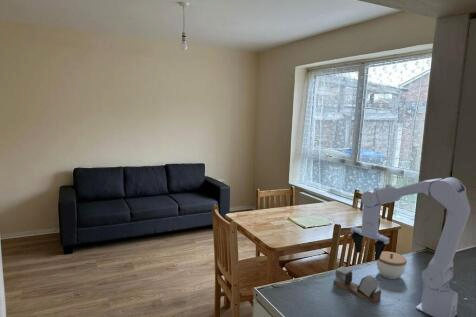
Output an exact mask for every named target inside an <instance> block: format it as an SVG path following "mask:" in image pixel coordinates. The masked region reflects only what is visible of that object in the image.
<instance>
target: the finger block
mask: <svg viewBox="0 0 476 317" xmlns="http://www.w3.org/2000/svg"><path fill="white" fill-rule="evenodd" d="M380 284H381V282H380V281H378V280H377V279H376V278H375V276H372V275H371V274H369V275H366V276H364V277H363V278H361V281H360V282H359V284H358V285H359V290H361V291H362V292H363V293H364V294H365V295H367V296H368V297H370V296H371V295H373V294H374V293H375V292H377V291H378V290H377V289H378V287H379V285H380Z"/></svg>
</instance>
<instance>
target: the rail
mask: <svg viewBox="0 0 476 317" xmlns="http://www.w3.org/2000/svg"><path fill="white" fill-rule="evenodd" d="M333 284H334V285H336V286H338V287H340V288H342V289H344V290H346V291H348V292H349V293H352V294H354V295H356V296H358V297H360V298H362V299H365V301H368V302H370V303H372V304H375V303H377V302H378V301H380V300H381V298H382V297H381V296H382V289H379V290H376V292H375V293H374V294H373V295H371V296H370V297H368V296H367V295H365V294H364V293H363V292H362V291H361V290H359V284H357V283H355V282H353V271H352V270H351V269H349V268H346V267H345V266H340V267H338V268H337V269H335V279H334V280H333Z"/></svg>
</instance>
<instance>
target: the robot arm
mask: <svg viewBox="0 0 476 317" xmlns="http://www.w3.org/2000/svg"><path fill="white" fill-rule="evenodd" d="M420 193H423V194H424V195H426V196H431V197H432V198H433V199H434V200H436V201H437V202H438V203H439V204H441V205H442V206H443V207H444V208H445V209H446V210H447V214H448V215H447V216H446V220H445V222H444V225H443V229H442V231H441V234H440V237H439V239H438V243H437V247H436V249H435V252H434V255H433V257H432V258H431V260H430V262H429V263H428V266H427V267H426V268H425V269H423V271H422V272H421V280H422V282H423V284H422V292H421V293H422V294H421V295H422V296H421V302H420V303H419V304H418V305H416V306H415V309H416V310H418V311H421V312H422V313H424V314H426V315H429V316H431V317H456V315H457V313H458V311H457V310H458V302H459V301H458V300H459V293H458V292H456V291H455V290H453V289H452V288H451V286H450V282H449V281H450V280H452V279H453V277H454V264H455V263H454V261H453V260H454V258H455V254H456V252H457V250H458V247H459V244H460V242H461V239H462V236H463V233H464V232H465V231H464V230H465V229H466V228H465V227H466V225H467V223H468V220H469V217H470V213H471V211H472V210H471V205H470V202H469V198H468V196H467V195H468V194H467V187H466V186H465V185H464V184H463V182H462V181H461V180H460V179H458V178H457V177H454V176H453V177H452V176H449V177H445V178H444V179H443V178H442V177H441V178H433V179H427V180H426V179H425V180H422V181H419V182H415V183H411V184H407V185H404V186H400V187H399V186H398V185H395V184H391V183H388V184H385V186H383V187H374V188H373V189H371V190H366V191H365V192H363V193H362V194H361V196H360V200H361V204H362V205H363V207H362V217H361V218H362V219H361V222H362V223H361V227H356V226H352V227H350V233H351V239H352V241H353V243H354V247H355V252H356V254H359V253H361V251H362V245H363V244H362V243H363V238H364V237H366V238H369V239H372V240H374V241H375V242H374V243H373V244H374V261H377V260H378V259H379V258H380V255H381V253H382V252H383V251H384V250H385V248H386V246H387V245H388V244H390V237H387V236H385V235H383V234H381V233H379V223H380V222H379V219H380V209H381V208H380V207H381V205H384V204H389V203H394V202H398V201H399V202H400V200H401V198H402V197H403V196H410V195H415V194H420Z"/></svg>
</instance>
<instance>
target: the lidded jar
mask: <svg viewBox="0 0 476 317" xmlns="http://www.w3.org/2000/svg"><path fill="white" fill-rule="evenodd" d="M407 263H408V262H407V258H406V257H405V256H404V255H402V254H399V253H397V252H393V251H387V250H386V251H385V250H383V251H382V253H381V255H380V258H379V259H378V260H376V268H377V270H378V272H379V273H380V274H381V276H382V277H384V278H386V279H390V280H397V279H399V277H402V275H403V274H404V273H405V270H406V267H407Z"/></svg>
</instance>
